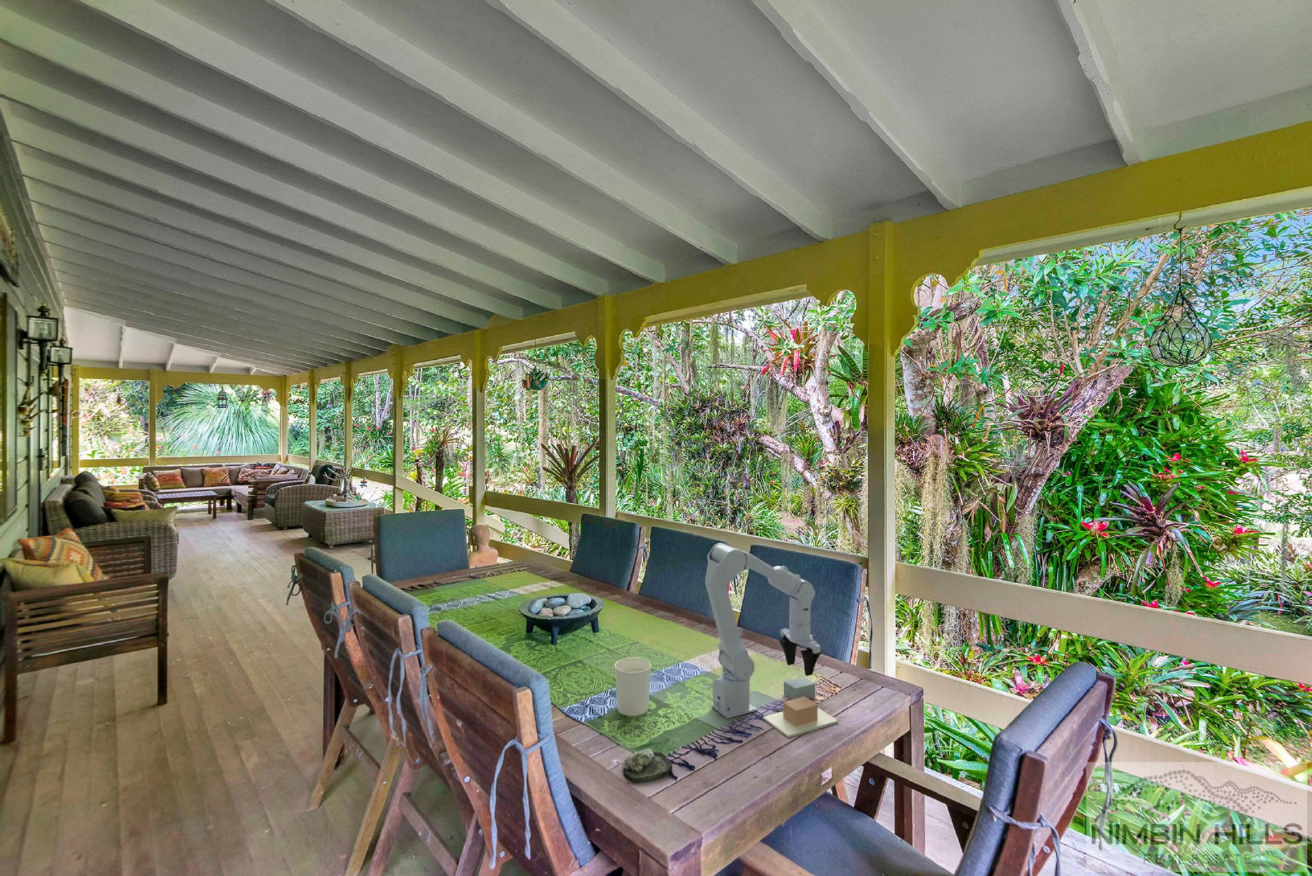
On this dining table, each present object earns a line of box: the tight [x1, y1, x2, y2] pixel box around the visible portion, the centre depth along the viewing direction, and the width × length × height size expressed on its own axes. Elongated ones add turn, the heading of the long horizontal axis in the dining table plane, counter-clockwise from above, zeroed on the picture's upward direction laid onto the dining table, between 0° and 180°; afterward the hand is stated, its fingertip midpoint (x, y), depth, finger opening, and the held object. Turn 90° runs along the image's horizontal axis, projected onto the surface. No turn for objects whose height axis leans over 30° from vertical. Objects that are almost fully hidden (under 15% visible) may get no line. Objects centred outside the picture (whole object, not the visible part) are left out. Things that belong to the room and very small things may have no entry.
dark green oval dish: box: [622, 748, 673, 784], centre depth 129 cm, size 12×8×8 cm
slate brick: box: [783, 676, 816, 700], centre depth 163 cm, size 7×5×4 cm
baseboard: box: [762, 707, 839, 739], centre depth 149 cm, size 16×10×1 cm, turn 116°
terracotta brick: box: [782, 696, 819, 726], centre depth 149 cm, size 7×5×4 cm
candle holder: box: [614, 656, 652, 717], centre depth 156 cm, size 10×10×12 cm
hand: (799, 669), depth 163 cm, fingers open, 7 cm apart
